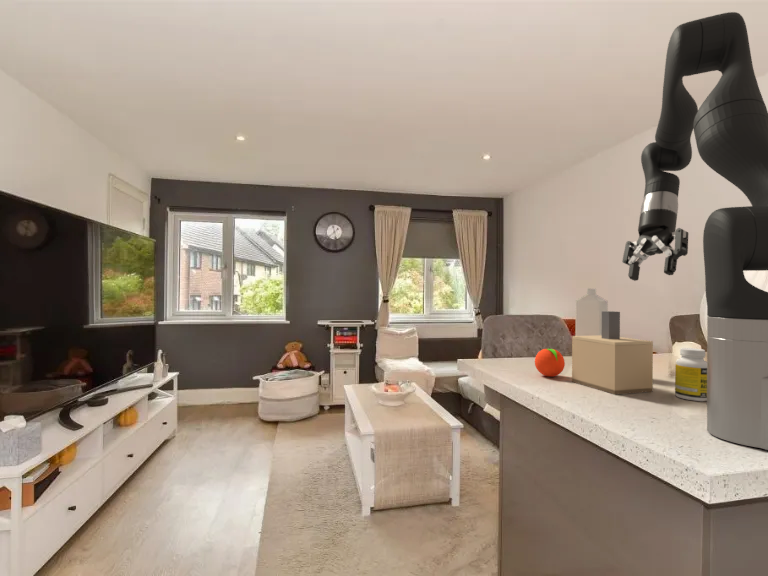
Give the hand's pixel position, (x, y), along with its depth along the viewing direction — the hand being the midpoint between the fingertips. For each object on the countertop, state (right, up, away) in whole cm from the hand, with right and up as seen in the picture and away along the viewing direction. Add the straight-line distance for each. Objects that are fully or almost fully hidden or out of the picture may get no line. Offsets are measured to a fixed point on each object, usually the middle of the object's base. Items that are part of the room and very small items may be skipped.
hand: (650, 277), depth 94 cm
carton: (-12, -25, -5) cm, 28 cm away
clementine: (-21, -25, +5) cm, 33 cm away
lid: (-12, -14, -5) cm, 19 cm away
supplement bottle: (-1, -25, -14) cm, 29 cm away
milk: (-8, -25, +12) cm, 29 cm away
